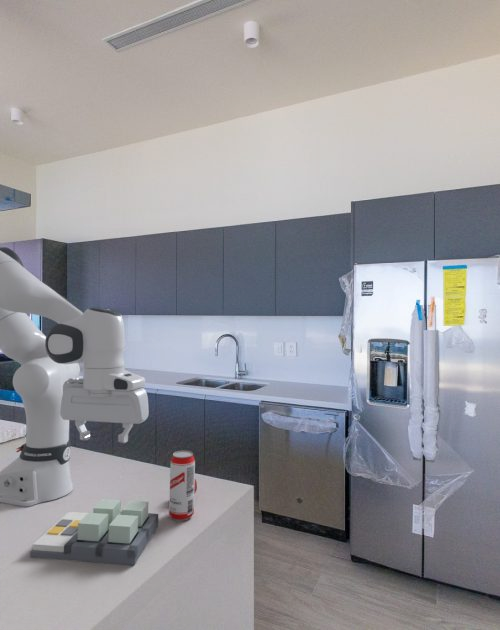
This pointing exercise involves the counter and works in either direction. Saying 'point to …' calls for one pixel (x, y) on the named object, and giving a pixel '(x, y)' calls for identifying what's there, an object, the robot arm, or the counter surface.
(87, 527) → the button
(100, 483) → the counter surface
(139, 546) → the board
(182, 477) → the beer can
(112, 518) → the button
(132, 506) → the button
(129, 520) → the button
